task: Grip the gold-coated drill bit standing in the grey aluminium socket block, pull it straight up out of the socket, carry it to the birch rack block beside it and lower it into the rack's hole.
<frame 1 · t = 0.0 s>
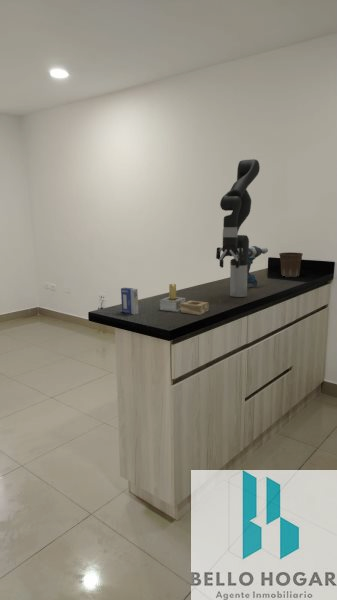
hand: (229, 267, 214), 17 cm above the counter, tool pointing down, fingers open, 8 cm apart
socket block: (173, 308, 200), on the counter
plant pot: (290, 276, 293), on the counter
impact wrench: (250, 287, 255), on the counter
walkman: (130, 313, 194), on the counter
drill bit: (172, 296, 199), in the socket block
rack block: (194, 311, 194), on the counter
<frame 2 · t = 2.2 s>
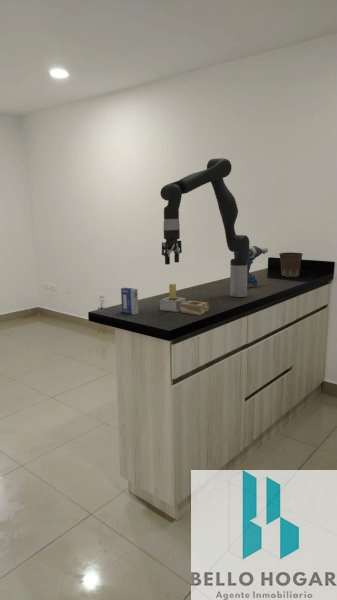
hand: (172, 263, 196), 22 cm above the counter, tool pointing down, fingers open, 8 cm apart
nothing on the counter moved.
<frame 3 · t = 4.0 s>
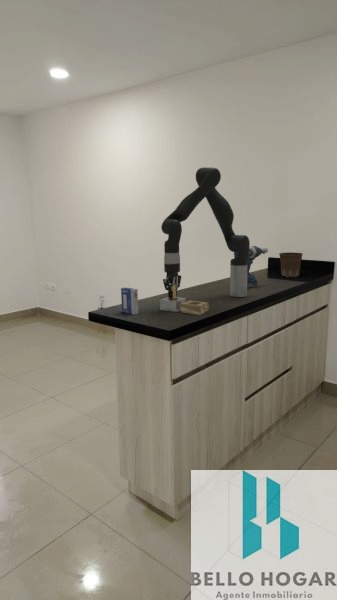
hand: (172, 297, 199), 6 cm above the counter, tool pointing down, fingers closed on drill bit, 3 cm apart
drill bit: (172, 296, 199), in the socket block, touching gripper
everything else where it was.
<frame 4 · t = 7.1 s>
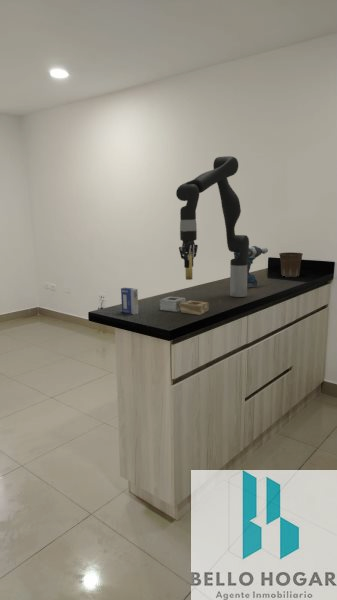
hand: (188, 267, 192), 21 cm above the counter, tool pointing down, fingers closed on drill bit, 3 cm apart
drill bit: (188, 266, 192), point 21 cm above the counter, touching gripper
everything else where it was.
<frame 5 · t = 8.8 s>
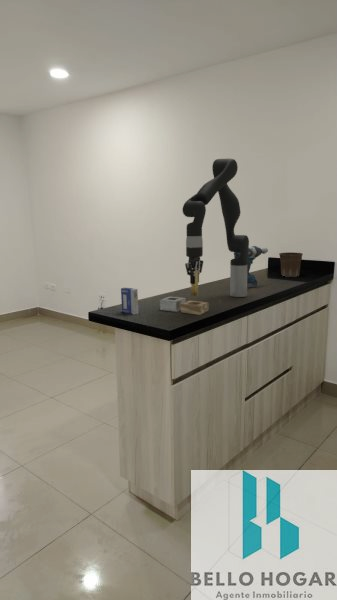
hand: (194, 283, 191), 14 cm above the counter, tool pointing down, fingers closed on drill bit, 3 cm apart
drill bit: (194, 282, 191), point 14 cm above the counter, touching gripper
everything else where it was.
when the fingers open (8 cm above the counter, at t = 10.2 s): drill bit drops 2 cm, resting in rack block.
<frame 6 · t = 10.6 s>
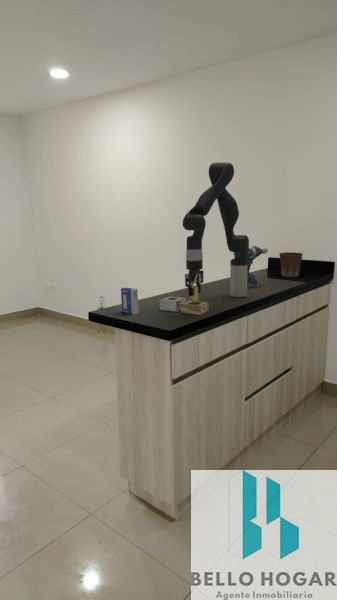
hand: (194, 294, 193), 8 cm above the counter, tool pointing down, fingers open, 7 cm apart
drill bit: (194, 299, 193), in the rack block
everything else where it was.
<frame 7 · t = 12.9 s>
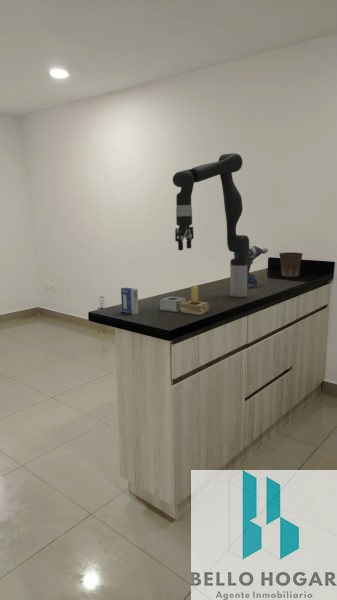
hand: (184, 249, 199), 28 cm above the counter, tool pointing down, fingers open, 8 cm apart
nothing on the counter moved.
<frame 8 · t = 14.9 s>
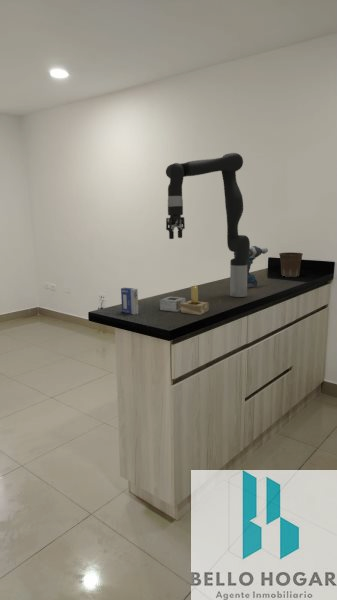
hand: (175, 238, 208), 33 cm above the counter, tool pointing down, fingers open, 8 cm apart
nothing on the counter moved.
at the end: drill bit 0.1 cm off-centre on the rack block, point 6.0 cm above the rack block's base; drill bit tilted 1°; the gripper is holding nothing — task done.
